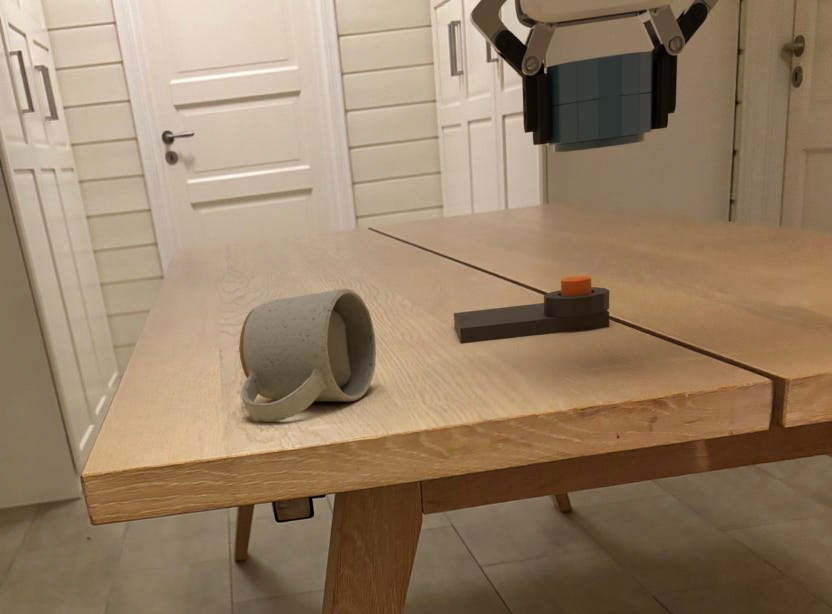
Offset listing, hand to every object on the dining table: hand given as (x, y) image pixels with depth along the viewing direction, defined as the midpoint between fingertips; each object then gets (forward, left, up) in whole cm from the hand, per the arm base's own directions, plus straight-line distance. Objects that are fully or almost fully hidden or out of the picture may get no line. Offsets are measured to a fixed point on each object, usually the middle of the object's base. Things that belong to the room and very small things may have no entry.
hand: (598, 134), depth 64 cm
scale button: (-1, -18, -13) cm, 22 cm away
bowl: (0, 0, -1) cm, 1 cm away
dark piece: (+3, -20, -15) cm, 26 cm away
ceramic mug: (+22, +1, -16) cm, 27 cm away
